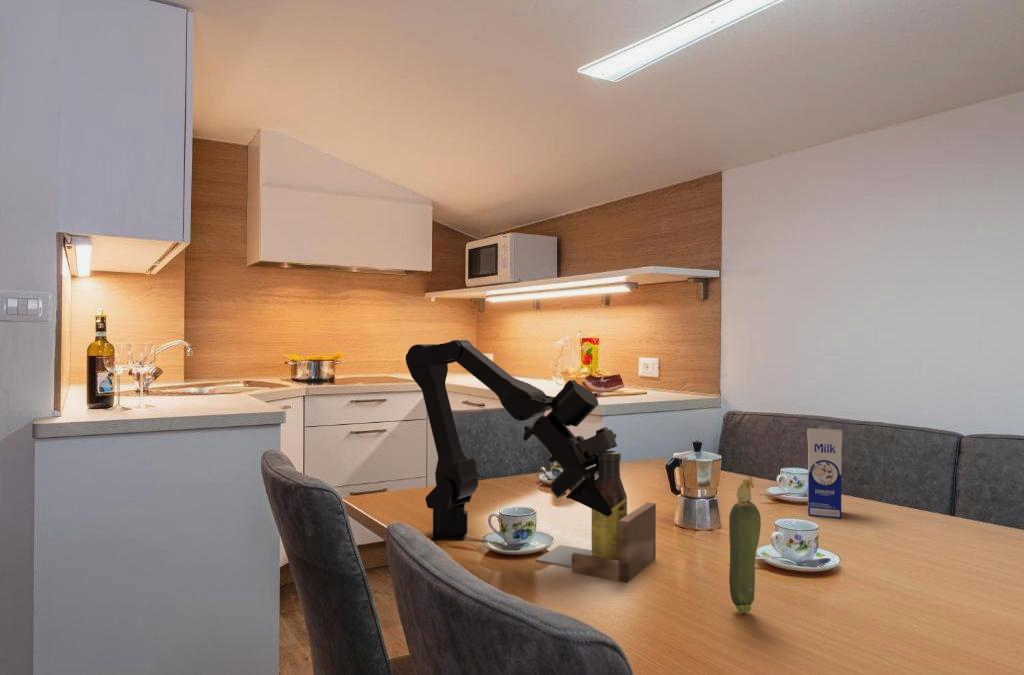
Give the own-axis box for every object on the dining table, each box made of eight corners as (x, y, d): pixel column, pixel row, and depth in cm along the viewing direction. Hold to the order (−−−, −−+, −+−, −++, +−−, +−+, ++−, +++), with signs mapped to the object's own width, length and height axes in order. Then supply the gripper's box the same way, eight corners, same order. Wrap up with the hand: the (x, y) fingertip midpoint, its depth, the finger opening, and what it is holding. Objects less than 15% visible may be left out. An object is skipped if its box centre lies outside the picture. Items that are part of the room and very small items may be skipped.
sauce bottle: (626, 571, 119) (626, 456, 119) (589, 569, 120) (590, 454, 120) (627, 559, 126) (627, 449, 125) (593, 557, 127) (593, 448, 127)
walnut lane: (571, 572, 119) (571, 513, 119) (603, 549, 131) (603, 496, 131) (627, 582, 114) (627, 521, 114) (655, 558, 126) (655, 503, 126)
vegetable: (724, 606, 104) (724, 472, 104) (752, 605, 104) (752, 472, 104) (736, 618, 100) (736, 478, 100) (765, 617, 100) (766, 478, 100)
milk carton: (807, 515, 157) (807, 427, 157) (806, 508, 163) (807, 423, 163) (842, 518, 154) (842, 428, 154) (840, 511, 161) (840, 425, 161)
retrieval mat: (535, 561, 125) (535, 559, 125) (560, 546, 133) (560, 544, 133) (576, 568, 121) (576, 566, 121) (598, 553, 129) (598, 551, 129)
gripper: (567, 419, 117) (629, 492, 111) (608, 409, 133) (664, 472, 128) (526, 462, 121) (584, 534, 115) (571, 447, 137) (624, 510, 132)
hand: (617, 510), depth 122 cm, fingers closed on sauce bottle, 6 cm apart
